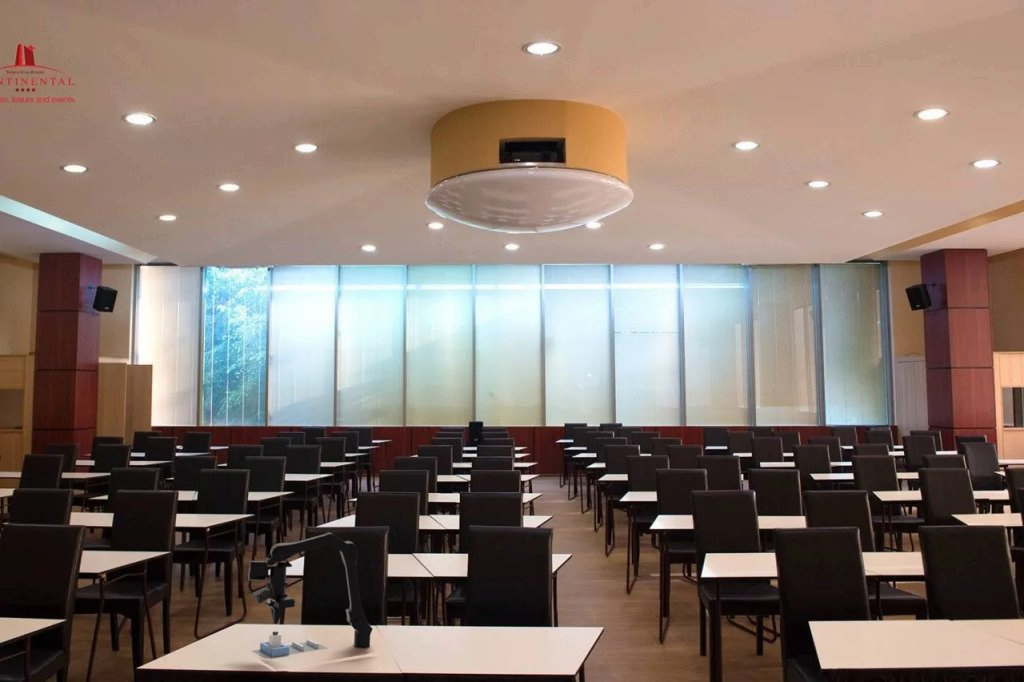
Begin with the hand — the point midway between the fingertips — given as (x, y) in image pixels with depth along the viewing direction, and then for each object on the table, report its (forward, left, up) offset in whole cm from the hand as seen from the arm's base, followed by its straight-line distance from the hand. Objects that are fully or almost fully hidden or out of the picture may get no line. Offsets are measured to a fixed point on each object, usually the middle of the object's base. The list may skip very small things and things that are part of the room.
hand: (275, 623), depth 307 cm
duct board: (0, -6, -11) cm, 13 cm away
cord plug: (0, 0, -11) cm, 11 cm away
